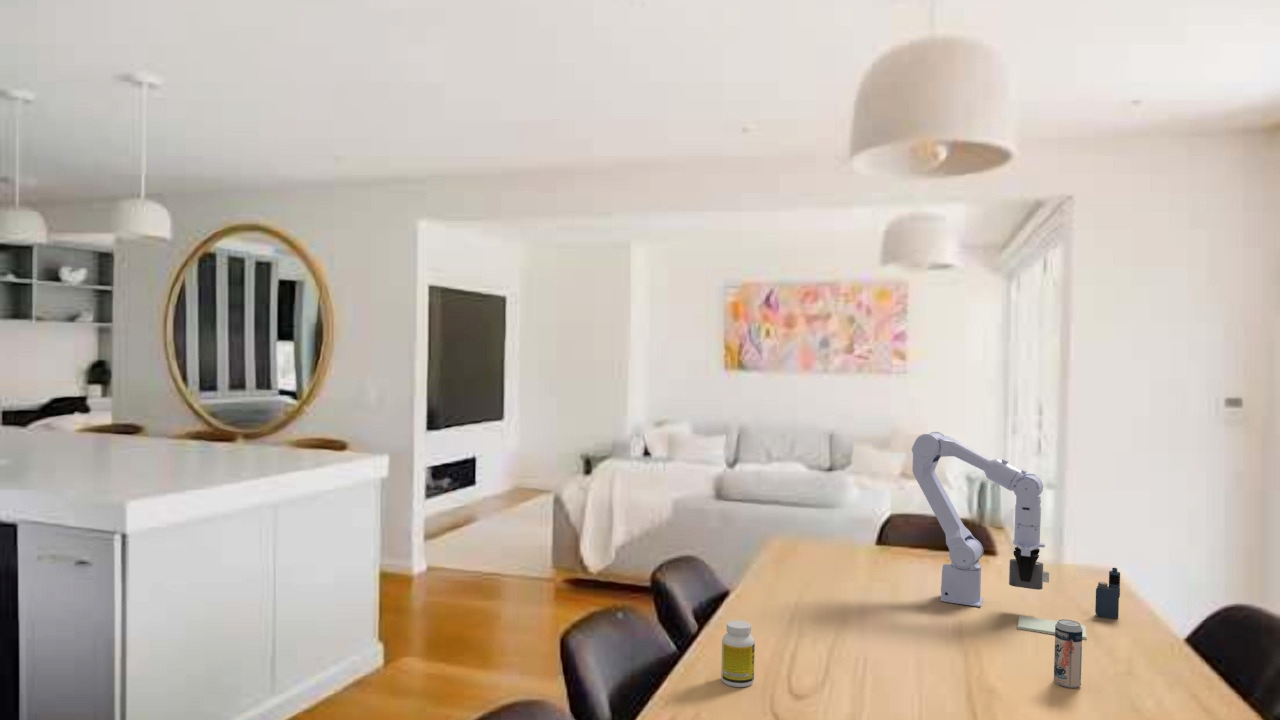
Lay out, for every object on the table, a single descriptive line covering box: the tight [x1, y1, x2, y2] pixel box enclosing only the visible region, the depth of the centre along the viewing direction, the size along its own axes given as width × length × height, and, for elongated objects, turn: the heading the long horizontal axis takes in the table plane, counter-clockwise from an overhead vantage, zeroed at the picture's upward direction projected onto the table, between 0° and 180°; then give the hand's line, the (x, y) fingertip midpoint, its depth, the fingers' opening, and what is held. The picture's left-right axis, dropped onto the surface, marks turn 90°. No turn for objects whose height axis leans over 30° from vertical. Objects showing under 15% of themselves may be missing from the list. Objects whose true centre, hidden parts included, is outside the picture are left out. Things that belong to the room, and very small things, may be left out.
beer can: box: [1053, 618, 1083, 689], centre depth 159 cm, size 5×5×12 cm
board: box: [1017, 615, 1087, 641], centre depth 192 cm, size 14×9×1 cm, turn 63°
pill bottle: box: [720, 619, 756, 688], centre depth 157 cm, size 6×6×11 cm
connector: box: [1008, 558, 1050, 590], centre depth 203 cm, size 9×4×6 cm, turn 63°
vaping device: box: [1094, 567, 1121, 619], centre depth 201 cm, size 3×5×12 cm, turn 78°
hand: (1025, 579), depth 203 cm, fingers closed on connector, 3 cm apart
